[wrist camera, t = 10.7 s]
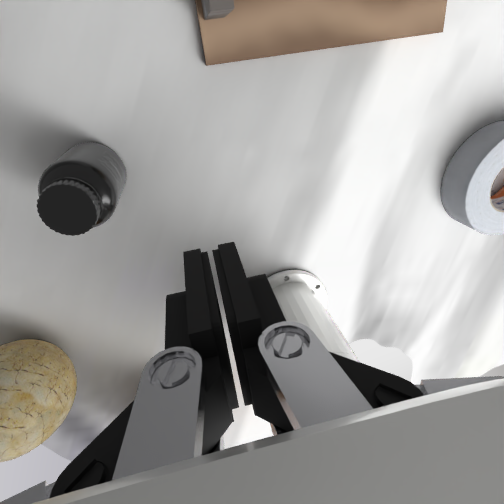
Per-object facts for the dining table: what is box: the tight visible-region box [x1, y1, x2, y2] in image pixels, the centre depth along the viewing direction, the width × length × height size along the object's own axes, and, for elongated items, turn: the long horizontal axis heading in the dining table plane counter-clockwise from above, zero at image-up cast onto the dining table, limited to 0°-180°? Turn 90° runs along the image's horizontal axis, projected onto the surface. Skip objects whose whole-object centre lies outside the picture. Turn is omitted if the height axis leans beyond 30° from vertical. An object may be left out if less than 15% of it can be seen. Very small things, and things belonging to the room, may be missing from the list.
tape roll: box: [441, 120, 504, 235], centre depth 48 cm, size 15×15×5 cm
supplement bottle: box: [37, 142, 126, 236], centre depth 34 cm, size 7×7×12 cm
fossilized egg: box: [0, 339, 77, 462], centre depth 43 cm, size 13×13×15 cm
